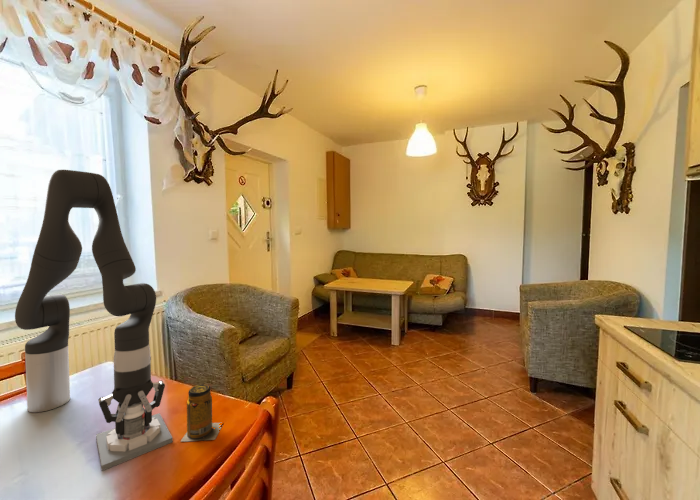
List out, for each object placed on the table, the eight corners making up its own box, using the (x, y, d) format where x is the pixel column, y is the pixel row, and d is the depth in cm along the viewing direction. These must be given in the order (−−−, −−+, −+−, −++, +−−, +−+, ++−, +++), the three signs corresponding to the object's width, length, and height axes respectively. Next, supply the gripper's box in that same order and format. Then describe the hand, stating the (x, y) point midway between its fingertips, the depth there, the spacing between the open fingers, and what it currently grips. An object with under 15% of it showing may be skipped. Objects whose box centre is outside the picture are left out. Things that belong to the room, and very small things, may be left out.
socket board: (96, 439, 78) (96, 428, 78) (159, 417, 88) (159, 407, 87) (101, 470, 68) (101, 459, 68) (172, 442, 78) (172, 431, 77)
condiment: (192, 424, 85) (191, 382, 84) (223, 423, 86) (223, 381, 85) (180, 442, 78) (179, 396, 77) (214, 440, 78) (214, 395, 78)
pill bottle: (147, 435, 78) (147, 403, 78) (125, 444, 74) (124, 411, 74) (142, 427, 81) (141, 396, 81) (120, 435, 78) (119, 403, 77)
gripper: (161, 352, 84) (162, 411, 85) (94, 367, 74) (96, 434, 75) (168, 360, 79) (169, 424, 80) (97, 378, 69) (99, 450, 70)
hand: (134, 428), depth 78 cm, fingers closed on pill bottle, 4 cm apart
